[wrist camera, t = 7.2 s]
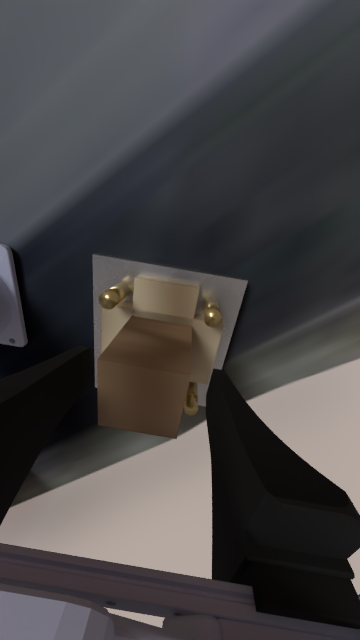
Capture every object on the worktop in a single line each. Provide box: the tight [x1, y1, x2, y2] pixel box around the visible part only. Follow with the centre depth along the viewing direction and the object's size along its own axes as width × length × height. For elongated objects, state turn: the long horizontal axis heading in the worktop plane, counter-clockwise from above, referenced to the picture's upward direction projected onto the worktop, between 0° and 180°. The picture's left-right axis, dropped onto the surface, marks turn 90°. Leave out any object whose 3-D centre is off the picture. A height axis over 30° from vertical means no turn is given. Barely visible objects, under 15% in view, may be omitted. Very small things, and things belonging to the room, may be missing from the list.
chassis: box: [93, 253, 248, 415], centre depth 14 cm, size 10×11×4 cm
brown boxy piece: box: [97, 275, 224, 439], centre depth 12 cm, size 8×9×6 cm
